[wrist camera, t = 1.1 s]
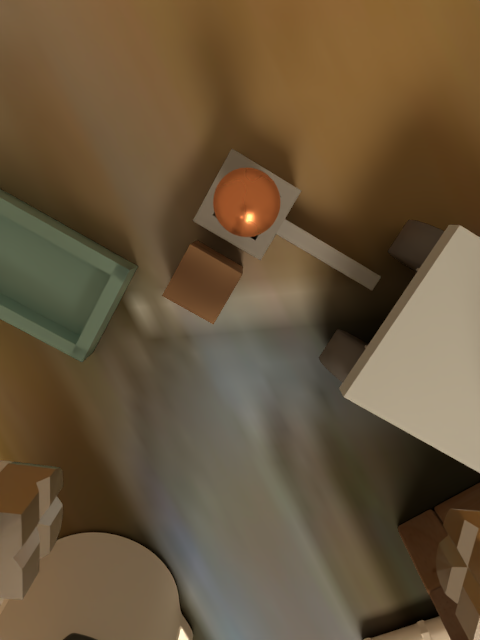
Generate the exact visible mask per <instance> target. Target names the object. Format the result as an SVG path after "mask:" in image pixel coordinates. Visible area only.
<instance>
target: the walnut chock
mask: <svg viewBox="0 0 480 640" xmlns="http://www.w3.org/2000/svg"><path fill="white" fill-rule="evenodd" d="M242 272H243V267H242V266H241V265H239V264H237V263H236V262H234V261H232V260H230V259H229V258H227V257H225V256H223V255H222V254H220V253H218V252H216V251H215V250H213V249H211V248H210V247H208V246H206V245H204V244H203V243H201V242H199V241H195V242H193V243H191V244H190V245H189V247H188V249H187V251H186V253H185V254H184V256H183V258H182V260H181V262H180V264H179V265H178V267H177V269H176V271H175V273H174V275H173V277H172V278H171V280H170V282H169V284H168V286H167V288H166V289H165V291H164V293H163V295H162V296H163V297H165V298H167V299H169V300H171V301H172V302H174V303H176V304H178V305H180V306H181V307H183V308H185V309H187V310H189V311H190V312H192V313H194V314H196V315H198V316H199V317H201V318H203V319H205V320H207V321H208V322H210V323H212V324H214V322H215V321H216V319H217V317H218V316H219V314H220V312H221V310H222V309H223V307H224V305H225V303H226V302H227V300H228V298H229V297H230V295H231V293H232V291H233V290H234V288H235V286H236V284H237V283H238V281H239V279H240V277H241V276H242Z"/></svg>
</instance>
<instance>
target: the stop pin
mask: <svg viewBox="0 0 480 640" xmlns="http://www.w3.org/2000/svg"><path fill="white" fill-rule="evenodd" d="M213 208H214V212H215V215H216V217H217V219H218V221H219V223H220V224H221V225H222V226H223V227H224V228H225V229H226V230H227V231H229V232H230V233H232V234H234V235H237V236H241V237H252V236H256V235H259V234H261V233H263V232H265V231H266V230H268V229H269V228H270V227H271V226H272V225H273V223H274V222H275V220H276V218H277V216H278V214H279V210H280V194H279V191H278V188H277V186H276V184H275V182H274V181H273V180H272V179H271V178H270V177H269V176H268V175H267V174H266V173H264V172H263V171H261V170H258V169H255V168H248V167H246V168H239V169H236V170H233V171H231V172H229V173H228V174H227V175H225V176H224V177H223V178H222V179H221V181H220V182H219V184H218V185H217V187H216V189H215V193H214V197H213Z"/></svg>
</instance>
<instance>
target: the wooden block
mask: <svg viewBox="0 0 480 640" xmlns="http://www.w3.org/2000/svg"><path fill="white" fill-rule="evenodd" d="M450 509H461V510H472V511H480V483H478V484H476V485H474V486H472V487H470V488H468V489H467V490H465V491H463V492H461V493H459V494H457V495H456V496H454V497H452V498H450V499H448V500H446V501H444V502H443V503H441V504H439V505H437V506H435V508H434V510H435V511H433V510H432V509H430V510H427V511H425V512H423V513H422V514H420V515H418V516H416V517H414V518H412V519H410V520H409V521H407V522H405V523H403V524H401V525H399V527H398V532H399V534H400V536H401V538H402V540H403V542H404V544H405V546H406V548H407V550H408V553H409V555H410V557H411V559H412V561H413V563H414V565H415V567H416V569H417V571H418V573H419V575H420V577H421V579H422V582H423V584H424V586H425V588H426V590H427V592H428V593H429V595H430V598H431V600H432V602H433V604H434V606H435V608H436V610H437V612H438V614H439V616H440V618H441V620H442V622H443V625H444V627H445V629H446V631H447V633H448V635H449V637H450V639H451V640H469V639H468V637H467V635H466V633H465V631H464V630H463V628H462V626H461V624H460V622H459V620H458V618H457V616H456V614H455V613H456V609H457V605H458V604H457V603H456V602H454V601H453V600H452V599H451V598H450V597H448V596H447V595H446V594H445V593H444V590H443V588H442V586H441V584H440V582H439V578H438V575H437V568H436V554H437V549H438V545H439V543H440V542H441V541H442V540H443V539H444V538H446V537H447V536H448V534H447V532H446V530H445V528H444V526H443V524H444V521H445V517H446V514H447V513H448V511H449V510H450Z"/></svg>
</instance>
